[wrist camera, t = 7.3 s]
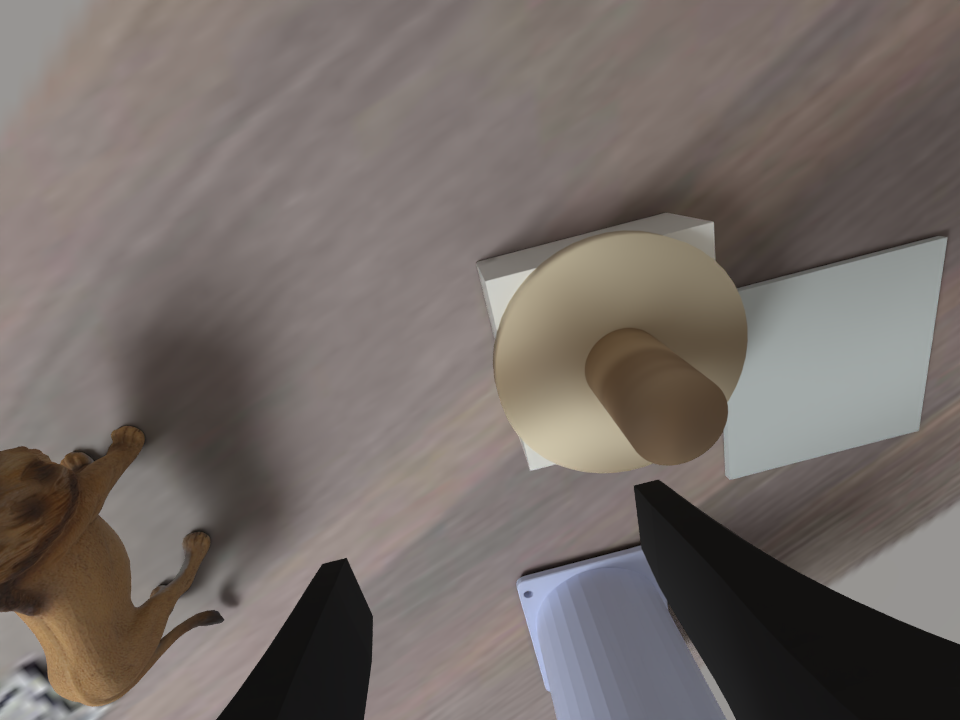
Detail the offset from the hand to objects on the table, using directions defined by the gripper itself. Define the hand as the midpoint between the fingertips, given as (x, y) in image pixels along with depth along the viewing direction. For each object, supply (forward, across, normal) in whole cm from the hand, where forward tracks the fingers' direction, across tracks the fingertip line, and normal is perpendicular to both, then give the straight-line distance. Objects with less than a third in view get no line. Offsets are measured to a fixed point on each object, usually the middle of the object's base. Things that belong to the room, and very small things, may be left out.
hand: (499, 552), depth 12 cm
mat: (+10, -17, +4) cm, 20 cm away
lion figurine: (+11, +17, +2) cm, 20 cm away
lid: (+7, -6, -1) cm, 9 cm away
